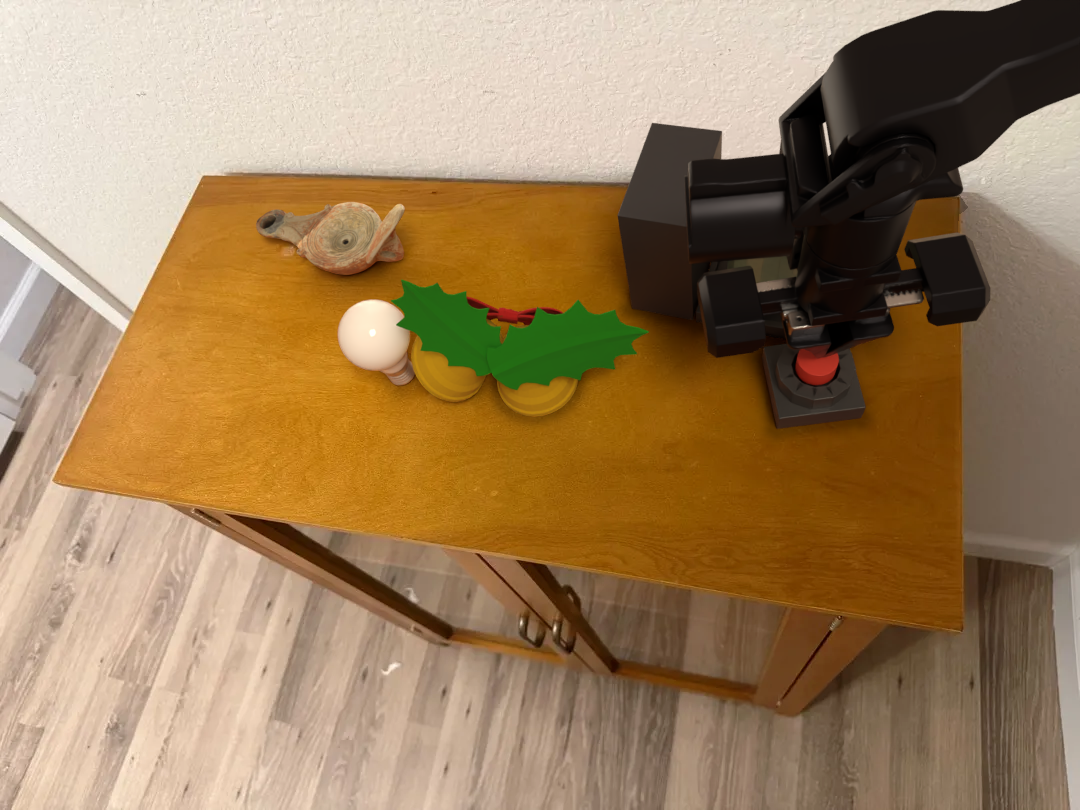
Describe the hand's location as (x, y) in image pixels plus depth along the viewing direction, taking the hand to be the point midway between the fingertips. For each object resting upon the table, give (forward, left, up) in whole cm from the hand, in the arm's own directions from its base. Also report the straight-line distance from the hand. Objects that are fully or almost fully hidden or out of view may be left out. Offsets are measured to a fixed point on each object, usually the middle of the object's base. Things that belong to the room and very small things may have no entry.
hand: (820, 352), depth 62 cm
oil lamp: (+44, -23, -6) cm, 50 cm away
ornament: (+24, -5, -6) cm, 25 cm away
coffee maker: (+5, -12, -6) cm, 15 cm away
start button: (0, 0, -3) cm, 3 cm away
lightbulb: (+37, -7, -6) cm, 39 cm away
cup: (+2, -11, -6) cm, 13 cm away
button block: (0, 0, -6) cm, 6 cm away
